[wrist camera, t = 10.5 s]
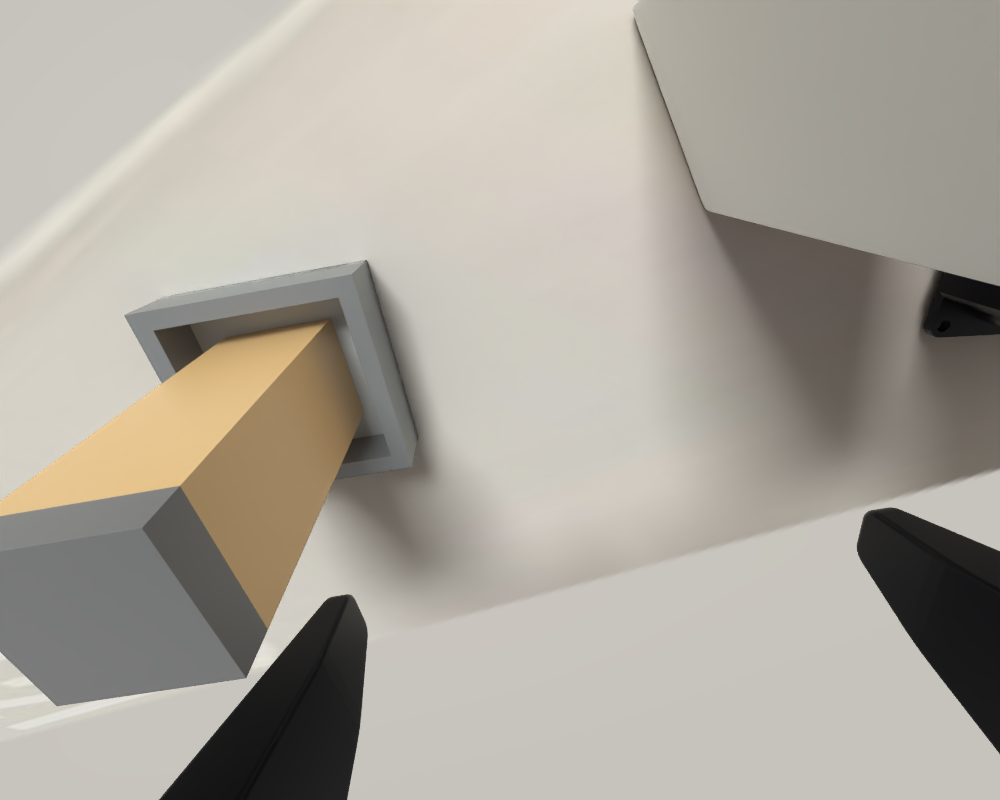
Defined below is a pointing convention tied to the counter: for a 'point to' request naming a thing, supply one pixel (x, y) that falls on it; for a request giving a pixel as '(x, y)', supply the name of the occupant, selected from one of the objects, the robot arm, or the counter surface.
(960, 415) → the counter surface
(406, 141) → the counter surface
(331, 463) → the plug
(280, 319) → the socket collar
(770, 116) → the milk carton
